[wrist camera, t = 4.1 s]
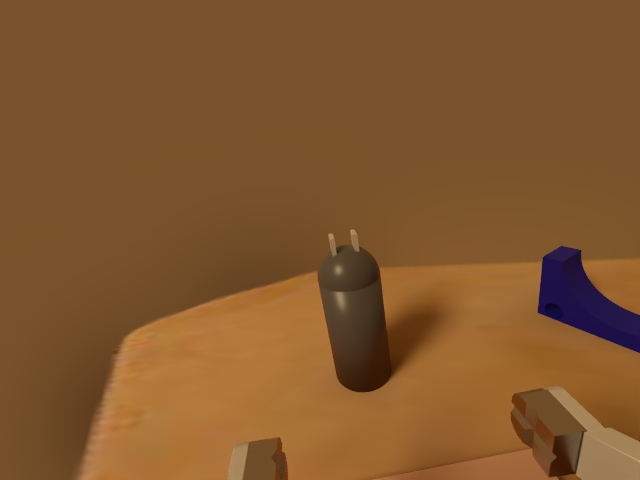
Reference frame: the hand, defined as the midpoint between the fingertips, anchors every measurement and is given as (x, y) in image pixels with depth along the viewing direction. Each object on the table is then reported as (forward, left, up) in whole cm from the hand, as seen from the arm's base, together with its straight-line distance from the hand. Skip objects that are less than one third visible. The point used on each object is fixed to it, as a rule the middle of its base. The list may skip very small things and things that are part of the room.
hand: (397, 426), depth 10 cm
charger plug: (0, -13, -9) cm, 16 cm away
